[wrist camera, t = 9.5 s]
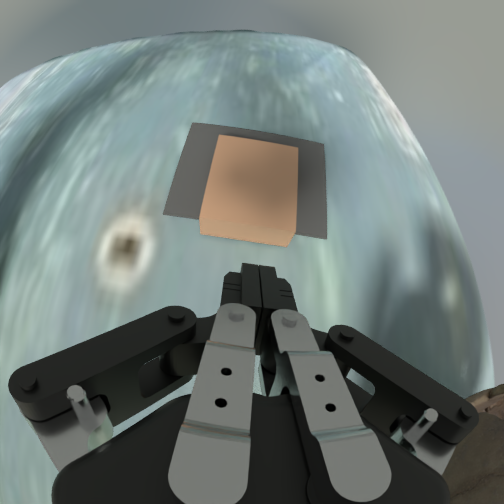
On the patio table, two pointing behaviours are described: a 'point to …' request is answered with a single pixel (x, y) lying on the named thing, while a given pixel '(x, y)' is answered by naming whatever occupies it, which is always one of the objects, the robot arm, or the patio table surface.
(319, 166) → the charcoal mat
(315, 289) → the patio table surface
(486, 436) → the clay pot
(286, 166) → the peach block
